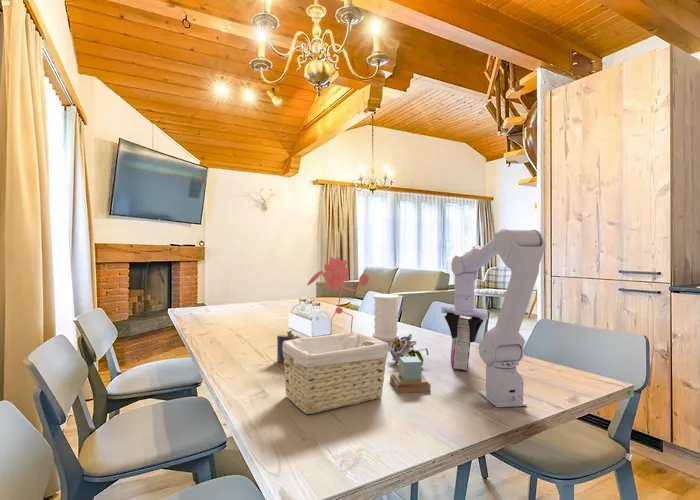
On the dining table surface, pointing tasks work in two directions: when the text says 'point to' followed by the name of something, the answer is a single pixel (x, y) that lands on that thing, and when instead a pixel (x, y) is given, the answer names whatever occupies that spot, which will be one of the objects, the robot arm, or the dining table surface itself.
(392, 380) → the square coaster
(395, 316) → the decorative container
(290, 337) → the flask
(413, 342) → the passion flower
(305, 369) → the storage basket
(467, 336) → the candy bar box
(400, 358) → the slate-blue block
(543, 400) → the dining table surface
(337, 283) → the figurine
